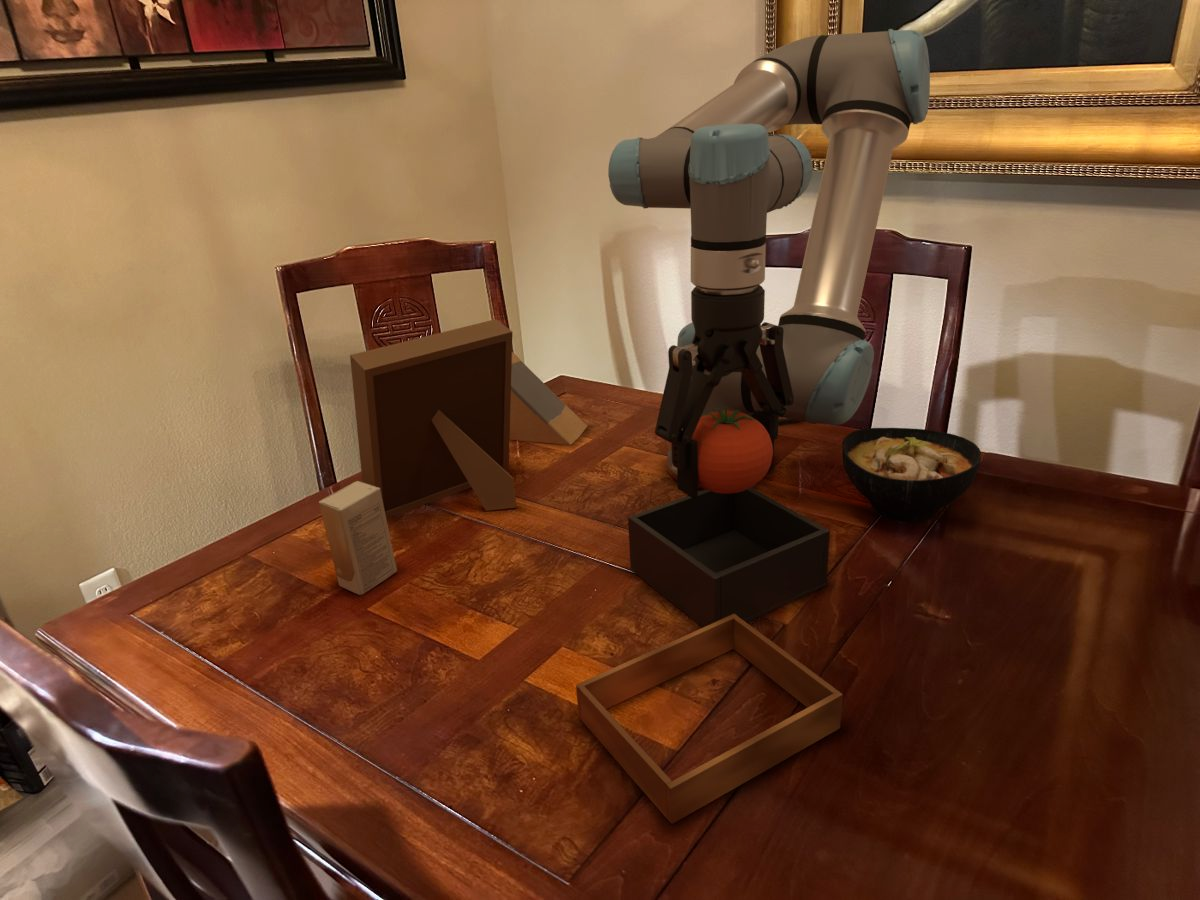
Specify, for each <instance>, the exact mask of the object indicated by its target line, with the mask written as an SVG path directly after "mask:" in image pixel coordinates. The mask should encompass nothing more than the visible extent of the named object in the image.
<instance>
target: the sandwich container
mask: <svg viewBox="0 0 1200 900" xmlns="http://www.w3.org/2000/svg"><path fill="white" fill-rule="evenodd" d="M587 427H588V424H586V423H585V422H584V420H582V419H581V418H580V417H579V416H578V415H577V414H576V413H575V412H574V411H573V410H572V409H571V408H570V407H569V406H568V405H567V404H566V403H565V402H564V401H562V400H561V399H560V398H559V397H558V396H557V395H556V393H554V392H553V391H552V390H551V389H550V388H549V387H548V386H547V385H546V383H545V382H543V380H541V378H539V377H538V376H537V375H536V374H535V373H534V372H533V371H532V370H531V369H530V368H529V367H528V366H527V365H526V364H525V363H524V362H523V361H522V360H521V359H520V358H519V356H518V355H516V354H515V352H514V351H512V369H511V406H510V441H519V442H529V443H541V444H542V443H544V444H555V445H566V446H568V445H569V446H572V445H573V443H575V442H576V441H577V440H578V438H579V437H581V436H582V434H583V433H584V431H585V430H586V429H587Z"/></svg>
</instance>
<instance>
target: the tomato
mask: <svg viewBox="0 0 1200 900" xmlns="http://www.w3.org/2000/svg"><path fill="white" fill-rule="evenodd" d="M712 410H717V412H712V413H709V414H705V415H701V416H702V417H701V418H700V420H699V422H698V425H697V427H696V429H695V431H694V434H693V436H692V438H691V439H693V440H695V441H697V454H698V485H699V486H701V487H703V488H705V489H707V490H710V491H713V492H715V493H726V494H731V493H738V492H742V491H744V490H746V489H748V488H753V487H754V486H756V485H757V484H758V483H760V482H761V481H762V480H763V479H764V478H765V477H766V476H765V474H766V473H767V474H768V472H769V471H768V470H769V467H770V465H771V462H772V456H773V446H772V442H771V439H770V436H769V433H768V432H767V430H766V429H765V427H764V426H763V425H762V424H761V423H760V422H759V421H757V420H756V419H754V418H753V417H751V416H749V415H747V414H745V413H741V412H739V411H740V410H736V411H727V410H728V407H726V409H725V411H722V410H721V409H712ZM767 471H768V472H767ZM767 474H766V475H767ZM764 476H765V477H764ZM763 477H764V478H763ZM705 489H704V490H705Z"/></svg>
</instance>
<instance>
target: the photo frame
mask: <svg viewBox="0 0 1200 900" xmlns="http://www.w3.org/2000/svg"><path fill="white" fill-rule="evenodd" d="M512 352H513V331H512V329H509V328H508V327H507V326H506V325H504V323H502V322H500V320H498V319H496V318H494V319H491V320H487V321H481V322H478V323H474V324H470V325H466V326H462V327H459V328H458V327H457V328H454V329H451V330H446V331H442V332H438V333H434V334H430V335H425V336H422V337H418V338H414V339H410V340H406V341H402V342H397V343H393V344H389V345H385V346H382V347H381V346H380V347H377V348H373V349H369V350H365V351H361V352H357V353H352V354H350V355H349V359H350V368H351V369H350V370H351V381H352V388H353V389H352V390H353V398H354V399H353V401H354V410H355V419H356V430H357V431H356V432H357V442H358V450H359V451H358V452H359V460H360V462H359V463H360V472H361V482H363V483H366V484H369V485H372V486H375V487H378V488H380V491H381V496H382V500H383V505H384V510H385V515H386V519H389V518H391V517H392V518H393V517H395V516H397V515H400V514H402V513H405V512H408V511H412V510H414V509H416V508H417V509H418V508H420V507H422V506H424V505H427V504H431V503H432V502H433V503H434V502H436V501H438V500H442V499H443V498H444V499H445V498H446V497H449V496H452V495H455V494H457V493H460V492H464V491H465V490H469V489H472V490H473V492H474V493H475V495H476V497H477V499H478V500H479V502H480V504H481V505H482V507H483V509H484V510H485V511H486V512H487V511H488V512H490V511H498V510H505V509H506V510H507V509H515V508H517V500H516V491H515V484H514V477H513V476H512V475H511V474H510V442H511V440H510V406H511V369H512Z"/></svg>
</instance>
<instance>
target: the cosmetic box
mask: <svg viewBox="0 0 1200 900" xmlns="http://www.w3.org/2000/svg"><path fill="white" fill-rule="evenodd" d="M318 505H319V509H320V512H321V517H322V521H323V522H322V523H323V525H324V529H325V533H326V537H327V542H328V545H329V546H328V547H329V551H330V554H331V559H332V563H333V566H334V570H335V571H334V572H335V574H336V579H337V583H338V587H341V588H343V589H345V590H347V591H349V592H352V593H354V594H356V595H358V596H362V595H365V594H366V593H367V592H369V591H370V590H372V589H373V588H375V587H376V586H378V585H379V584H381V583H382V582H384V581H385V580H387V579H388V578H390V577H391V576H393V575H394V574H395V573H397V572H398V567H397V562H396V557H395V553H394V548H393V544H392V539H391V534H390V530H389V525H388V520H387V519H388V518H386V515H385V510H384V505H383V500H382V496H381V491H380V488H378V487H375V486H372V485H369V484H366V483H363V482H362V481H359V480H356V481H354V482H352V483H350V484H349V485H346V486H345V487H342V488H341V489H339V490H337V491H335V492H334V493H331V494H329V495H328V496H326V497H324V498H322V499H320V500H319V501H318Z"/></svg>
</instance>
